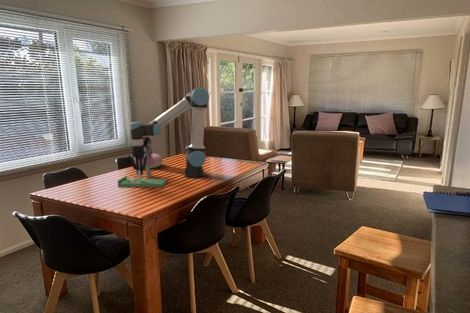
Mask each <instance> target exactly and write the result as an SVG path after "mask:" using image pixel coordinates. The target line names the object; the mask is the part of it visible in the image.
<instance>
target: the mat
mask: <svg viewBox="0 0 470 313" xmlns="http://www.w3.org/2000/svg"><path fill="white" fill-rule="evenodd" d="M130 179H131V178H128V177H127V176H126V175H125V176H123V177H122V178H120V179H119V180H117V187H118V188H120V187H121V188H124V187H125V188H163V187H164V186H165V185H166V184H168V179H166V178H142V179H141V180H139V178H134V179H135V180H136V181H134V182H130Z"/></svg>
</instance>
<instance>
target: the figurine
mask: <svg viewBox="0 0 470 313" xmlns="http://www.w3.org/2000/svg"><path fill="white" fill-rule="evenodd" d="M151 144H152V140H151V138H150V136H143V146H144V153H145V154H146V155H148V158H147V162H146V169H145V174H146V178H152V177H154V174H152V172H151V169H150V166H153V165H154V164H155V163H154V160H153V158H152V156H153V154H155V150H153V149H152V147H151ZM142 160H143V161H142V162H144V156H143V159H142Z"/></svg>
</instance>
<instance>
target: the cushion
mask: <svg viewBox="0 0 470 313" xmlns="http://www.w3.org/2000/svg"><path fill="white" fill-rule="evenodd" d="M152 154H153V156H152V158H153V160H154V163H155V164H154V165H153V166H150V170H151V169H155V168H158V167H160V166H161V165H162V163H163V161H164V160H163V157H162V156H161V155H160V154H158V153H152ZM133 158H134V157H133ZM134 161H135V158H134ZM142 161H143V160H142ZM135 164H136V161H135ZM139 168H140V163H139ZM144 170H146V168H145V169H144Z"/></svg>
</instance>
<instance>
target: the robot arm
mask: <svg viewBox="0 0 470 313" xmlns="http://www.w3.org/2000/svg"><path fill="white" fill-rule="evenodd" d="M182 98H183V99H181V100H180V101H178V102H177V103H175V104H174V105H173V106H171V107H170V108H169V109H167V110H166V111H164V112H163V113H162V114H160V115H159V116H157V117H156V118H154V119H153V120H152V121H150V122H148V123H147V124H143V122H142V121H133V122H132V121H131V123H130V124H129V125H130V138H131V150H132V153H131V154H129V155H128V158H129V159H130V162H131V164H132V167H133V170H136V175H137V176H138V178H137V179H139V180H141V179H143V175H144V170H146V169H145V168H146V162H147V158H148V155H146V154H145V153H144V146H143V137H147V136H148V137H151V136H154V137H155V136H156V137H157V136H161V135H162V131H161V130H162V128H163V127H165V126H166V125H167V124H169V123H170V122H172V121H173V120H174V119H176V118H177V117H179V116H181V115H182V114H183V113H184V112H186V111H187V110H188V109H192V111H191V114H192V117H191V133H190V134H191V135H190V145H186V146H185V163H186V164H185V170H184V172H183V174H184V175H183V176H184V177H185V178H189V179H190V178H191V179H197V178H202V177H205V175H206V174H205V170H204V168H203V165H204V164H205V163H206V160H207V158H206V147H205V145H204V137H205V136H204V134H205V118H206V116H205V115H206V110H207V109H208V105H209V104H208V103H209V101H210V95H209V92H208V90H206V89H205V88H204V87H201V86H200V87H198V86H197V87H194V88H192V89H191V90H190V91H189V92H188V93H187V94H186V95H184V96H183V97H182ZM143 156H144V162H142V159H143ZM134 158H135V161H136V164H135V161H134ZM139 163H140V168H139Z"/></svg>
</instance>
